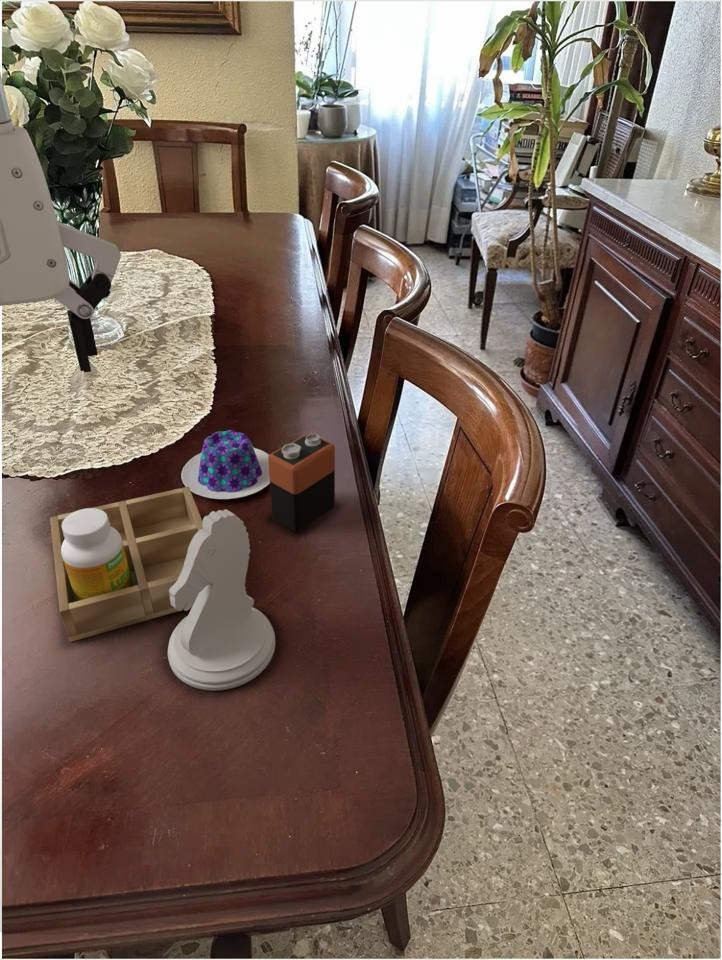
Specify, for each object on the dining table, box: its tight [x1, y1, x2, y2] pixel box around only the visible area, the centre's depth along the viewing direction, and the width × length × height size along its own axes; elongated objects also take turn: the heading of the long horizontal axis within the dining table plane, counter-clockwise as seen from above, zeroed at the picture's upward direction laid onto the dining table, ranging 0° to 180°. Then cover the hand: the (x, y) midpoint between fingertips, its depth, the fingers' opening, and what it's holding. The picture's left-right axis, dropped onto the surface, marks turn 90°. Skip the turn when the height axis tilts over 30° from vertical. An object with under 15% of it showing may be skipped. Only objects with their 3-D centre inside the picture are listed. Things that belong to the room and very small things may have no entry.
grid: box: [49, 486, 203, 643], centre depth 69 cm, size 15×15×4 cm
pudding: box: [180, 429, 270, 500], centre depth 83 cm, size 12×12×5 cm
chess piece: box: [167, 508, 276, 691], centre depth 57 cm, size 10×10×15 cm
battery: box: [268, 432, 336, 533], centre depth 76 cm, size 4×7×10 cm, turn 140°
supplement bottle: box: [61, 507, 133, 601], centre depth 63 cm, size 5×5×10 cm
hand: (13, 375), depth 48 cm, fingers open, 9 cm apart
